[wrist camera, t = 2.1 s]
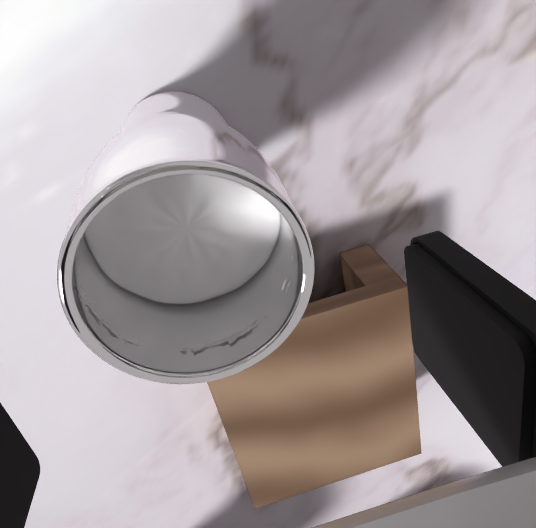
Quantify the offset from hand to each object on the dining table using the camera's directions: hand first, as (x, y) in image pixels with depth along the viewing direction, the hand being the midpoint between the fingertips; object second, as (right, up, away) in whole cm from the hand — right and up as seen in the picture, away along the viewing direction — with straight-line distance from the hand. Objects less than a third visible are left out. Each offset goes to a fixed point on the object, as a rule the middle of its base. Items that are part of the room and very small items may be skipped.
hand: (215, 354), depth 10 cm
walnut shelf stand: (+3, -4, +23) cm, 24 cm away
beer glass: (-4, +8, +15) cm, 18 cm away
